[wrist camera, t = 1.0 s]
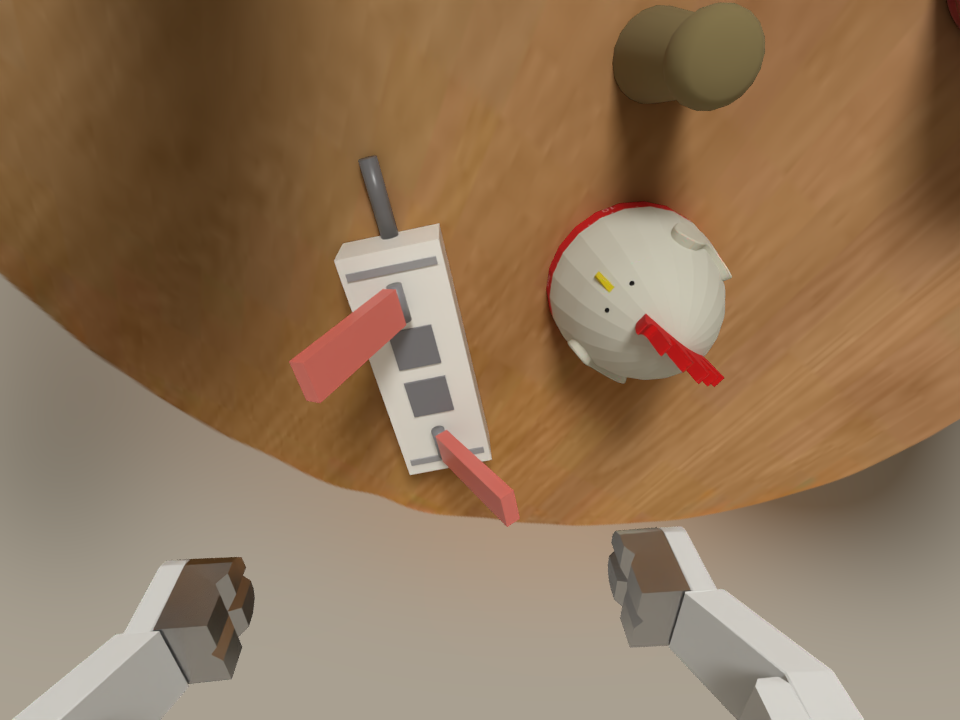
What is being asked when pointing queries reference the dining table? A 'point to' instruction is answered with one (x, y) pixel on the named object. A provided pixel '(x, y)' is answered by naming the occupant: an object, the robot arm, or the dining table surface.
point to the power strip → (416, 334)
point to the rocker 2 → (476, 476)
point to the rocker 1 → (350, 343)
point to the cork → (689, 55)
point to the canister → (954, 11)
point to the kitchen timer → (639, 293)
